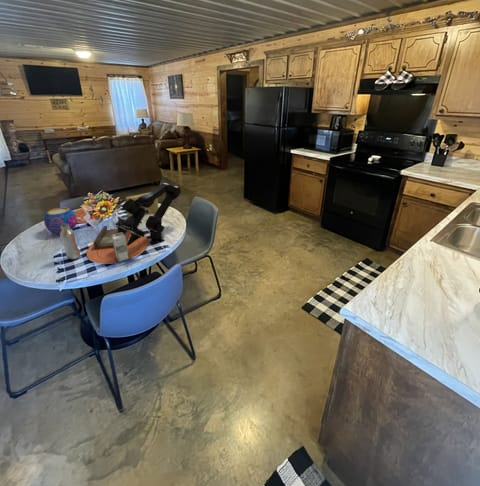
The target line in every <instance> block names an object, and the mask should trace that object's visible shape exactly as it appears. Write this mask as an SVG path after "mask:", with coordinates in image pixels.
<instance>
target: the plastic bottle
mask: <svg viewBox="0 0 480 486" xmlns="http://www.w3.org/2000/svg"><path fill="white" fill-rule="evenodd" d="M61 230H62V231H61V233H60V234H59V238H60V239H61V241H62V243H63V246H64V250H65V256H66V258H67V259H68V260H70V261H71V260H77V259H78V258H80V256H81V251H80V249H79V247H78V245H77V241H76V236H75V234H76V233H75V231H74V229H72V230H71V229H70V227H69V224H63V225H61Z"/></svg>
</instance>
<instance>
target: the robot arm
mask: <svg viewBox="0 0 480 486" xmlns="http://www.w3.org/2000/svg"><path fill="white" fill-rule="evenodd" d="M150 192H151V193H150ZM150 192H148V193H149V194H145V193H144V194H145V195H142V196H140V197H139V198H138V199H137V200H135V201H134V200H132V199H129V200H128V201H126V200H125V202H124V203H122V207H121V208H122V210H123V211H125V212H126V213H127V212H128V213H130V214H132V216H129V217H128V216H127V217H118V220H117V221H116V223H115V227H116V229H118V233H121V232H123V234H125V233H126V232H127V231H126V230H127V229H128V230H131V231H130V236H129V239H128V240H127V242H126V243H127V247H129V246H130V245H132V244H133V243H135V242H136V241H137V240H139V239H142V238H144V237H145V235H146V231H144V230H142V229H140V228H139V226H140V224H143V221H142V220H143V218H144V216H146V215H148V218H147V219H146V220H145V223H144V225H145V228H146V229H147V230H148V231H150V233H149V236H150V237H149V238H150V242H153V243H154V242H162V241H163V239H164V237H165V236H164V235H163V232H164V230H165V226H164V225H162V224H163V218H164V216H165V214H166V213H167V211H168V209H170V206H171V204H172V202H173V201H174V200H176V199H177V198H179V196H180V195H181V192H182V190H181V188H180V187H179V186H174V185H171V184H169V183H166V182H165V183H163V182H162V183H161V184H160V185H159V186H157V187H156V188H155V189H153V190H152V191H150ZM164 194H165V197H164V199H163V200H162V202H161V203H160V205H159V206H158V207H159V208H158V210H157V211H156V213H154V214H153V215H150V214H149V212H148V209H146V208H149V207H150V206H151V205H152V204H153V203H154V200H155V199H158V198H160V197H162V195H164ZM140 206H141V207H140ZM142 207H146V208H142ZM145 213H147V214H145ZM125 229H126V230H125Z"/></svg>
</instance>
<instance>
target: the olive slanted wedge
mask: <svg viewBox="0 0 480 486" xmlns="http://www.w3.org/2000/svg"><path fill="white" fill-rule="evenodd" d="M107 229H108V225H107V226H104V225H103V226H102V227H101V230H100V231H99V233H98V234H97V236H96V238H95V239H94V241H92V242H93V247H94V249H95V250H102V249H111V248H113V249H114V245H113V240H112V236H111V235H114V234H117V233H118V228H109V229H110V230H107ZM125 230H126V229H125ZM126 231H127V232H126V233H125V234H124V235H125V238H126V242H128V240H129V239H128V238H129V237H130V235H131V232H132V231H131V230H128V229H127V230H126Z"/></svg>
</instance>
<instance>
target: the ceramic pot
mask: <svg viewBox="0 0 480 486" xmlns="http://www.w3.org/2000/svg"><path fill="white" fill-rule="evenodd" d="M43 219H44V220H43V222H44V226H45V227H46V229H47V230H48V231H49V232H51V234H52V233H53V234H58V235H60V233H61V231H62V230H61V225H63V224H69V227H70V229H71V230H74V229H75V228H76V227H77V226H76V225H77V223H78V218H77V215H76V213H75V210H72V209H71V208H69V207H65V206H64V207H63V206H62V207H55V208H53V209H50V210H48V211H47V212H46V213H45V215H44V218H43Z"/></svg>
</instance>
